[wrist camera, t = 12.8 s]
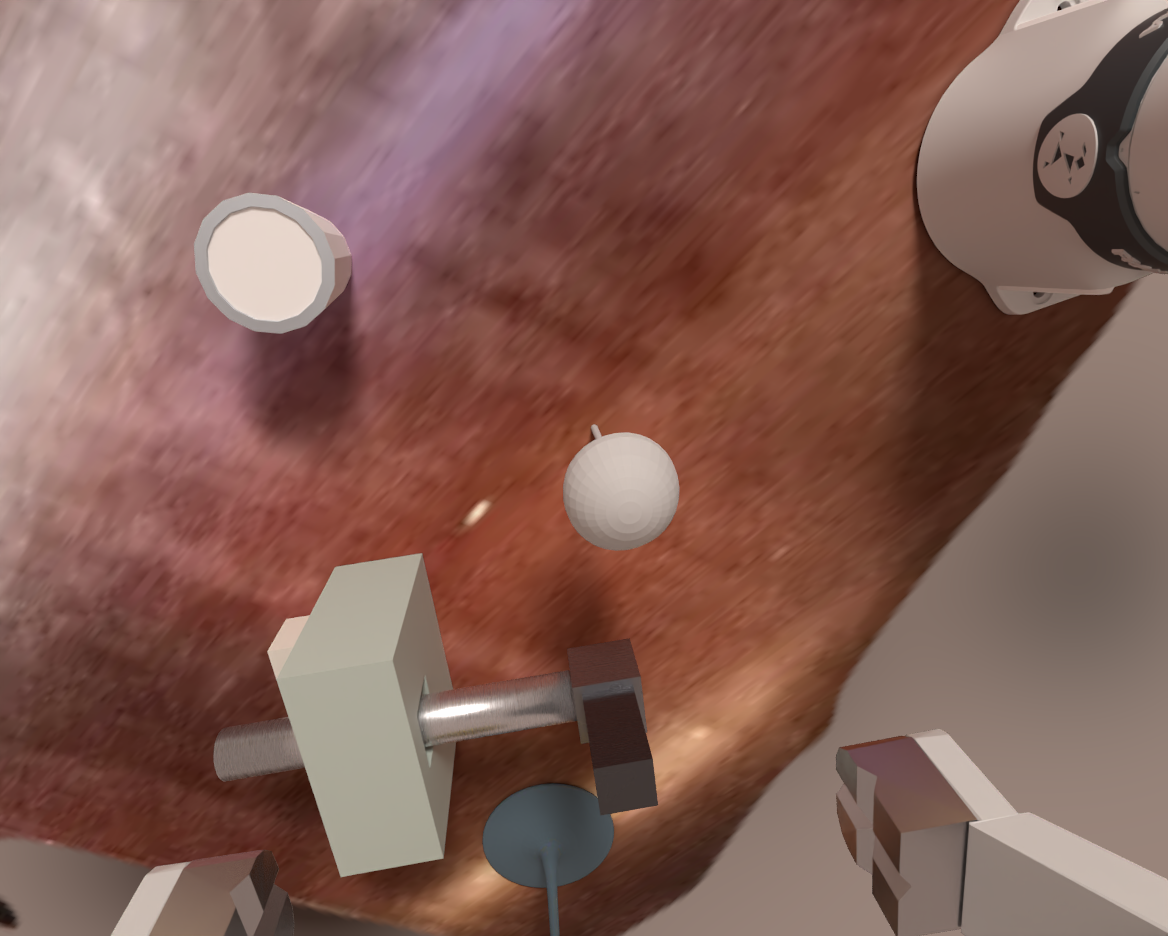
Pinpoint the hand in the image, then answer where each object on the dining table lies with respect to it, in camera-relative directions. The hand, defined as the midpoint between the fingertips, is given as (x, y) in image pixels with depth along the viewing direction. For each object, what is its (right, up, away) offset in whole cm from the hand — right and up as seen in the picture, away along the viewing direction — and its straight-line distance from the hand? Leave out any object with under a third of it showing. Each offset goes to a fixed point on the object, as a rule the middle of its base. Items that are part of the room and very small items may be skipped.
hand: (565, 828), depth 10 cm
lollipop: (+1, +8, +37) cm, 38 cm away
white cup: (-17, +18, +32) cm, 40 cm away
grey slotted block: (-13, -8, +41) cm, 43 cm away
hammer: (-9, -9, +34) cm, 37 cm away
